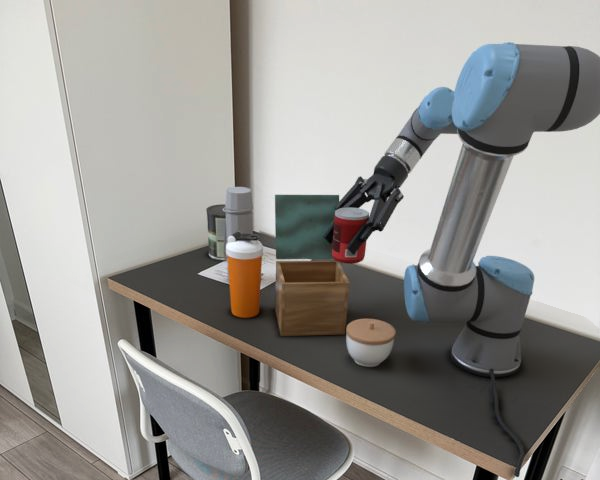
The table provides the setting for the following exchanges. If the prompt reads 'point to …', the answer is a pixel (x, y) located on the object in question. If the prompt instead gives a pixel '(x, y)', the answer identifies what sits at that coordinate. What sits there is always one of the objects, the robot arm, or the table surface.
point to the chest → (311, 298)
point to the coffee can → (216, 231)
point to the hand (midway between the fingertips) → (338, 245)
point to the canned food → (348, 234)
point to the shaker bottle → (244, 273)
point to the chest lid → (303, 226)
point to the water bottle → (238, 213)
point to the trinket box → (369, 341)
